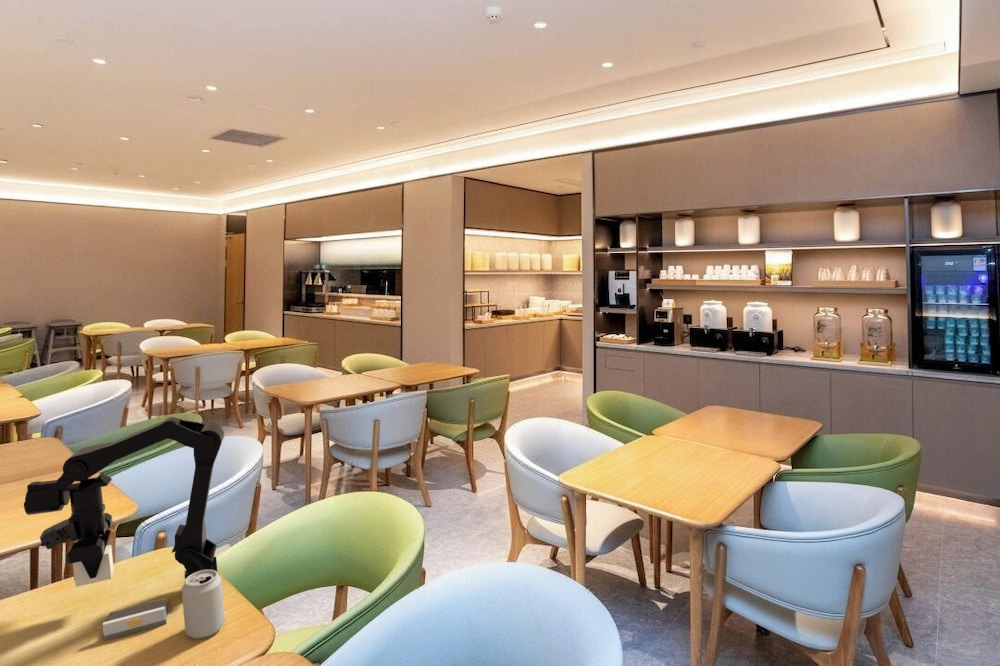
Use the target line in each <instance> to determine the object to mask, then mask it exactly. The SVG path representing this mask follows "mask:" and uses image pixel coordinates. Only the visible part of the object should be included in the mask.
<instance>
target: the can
mask: <svg viewBox="0 0 1000 666" xmlns="http://www.w3.org/2000/svg"><path fill="white" fill-rule="evenodd" d="M217 572H218V571H217ZM217 572H216V571H215V570H202V571H198V572H195V573H193V574H191V575H189V576H188V577H187V578H186V579H185V578H184V581H183V582H184V583H183V585H182V587H181V599H182V610H183V620H184V629H185V635H187V636H188V637H191V638H192V639H196V640H198V639H199V640H200V639H201V640H202V639H205V637H206V638H209V637H211V636H214V635H215V634H217V633H218V632H219V631H220V630H221V628H222V627H223V626H224V625H225V622H226V615H225V605H224V604H225V603H224V602H225V601H224V593H223V592H224V591H223V582H222V577H221V576H220V575H219V573H217Z"/></svg>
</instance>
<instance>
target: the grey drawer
mask: <svg viewBox="0 0 1000 666" xmlns="http://www.w3.org/2000/svg"><path fill="white" fill-rule="evenodd" d="M167 615H168V598H162V599H159V600H154V601H151V602H147V603H142V604H139V605H135V606H131V607H127V608H123V609H120V610H115V611H112V612H109V613H108V618H107V621H104V622H103V623H102V631H103V639H104V642H105V641H109V640H111V639H112V640H113V639H116V638H120V637H123V636H126V635H131V634H134V633H138V632H141V631H145V630H149V629H152V628H155V627H159V626H163V625H166V624H167Z"/></svg>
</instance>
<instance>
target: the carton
mask: <svg viewBox="0 0 1000 666" xmlns="http://www.w3.org/2000/svg"><path fill="white" fill-rule="evenodd" d="M114 569H115V566H114V559H113V550H112V544H107V545H106V548H105V552H104V555H103V558H102V561H101V564H100V567H99V570H98V573H97V576H96V577H95V578H92V579H90V577H89V575H88V573H87V572H86V570H85V568H84V566H83V564H82V562H76V563H72V572H73V581H74V583H75V588H78V587H82V586H87V585H90V584H95V583H99V582H103V581H108V580H112V578H113V573H114Z"/></svg>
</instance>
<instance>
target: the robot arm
mask: <svg viewBox="0 0 1000 666" xmlns="http://www.w3.org/2000/svg"><path fill="white" fill-rule="evenodd" d="M224 438H225V431H224V429H223V428H222V427H221V426H220V425H218V424H215V423H208V424H205V423H202V422H199V421H193V420H192V421H191V420H186V419H181V418H179V417H175V416H170V417H167V418H165V419H164V420H162V421H159V422H158V423H156V424H153V425H151V426H148V427H145V428H143V429H141V430H138V431H136V432H132V433H131V434H129V435H126V436H123V437H121V438H119V439H116V440H114V441H111V442H107V443H99V444H95V445H91V446H87V447H83V448H80V449H79V450H76V451H75V452H74V453H73V454H72V455H71V456H69V458H67V459H66V460H65V462H64V463H63V465H62V473H61V476H60V477H58V479H54V480H47V481H46V480H45V481H38V480H37V481H31V482H30V483H28V485H26V487H27V490H26V491H27V492H26V493H25V498H24V503H23V508H24V512H25V514H26V515H28V516H32V515H41V514H47V513H54V512H60V511H63V510H64V507H65V506H68V505H69V503H70V508H71V513H70V514H71V515H70V517H68V518H66V519H64V520H61V521H60V522H58V523H56V524H53V525H52V526H49V527H48V528H46V529H44V530H43V531H42V533H41V535H40V536H39V540H40V542H41V543H40V545H41V547H45V548H46V550H51V549H54V548H55V546H57V545H60V544H62V543H64V542H65V541H67V540H70V542H73V543H72V544H71V545H70V546H69V547H68V549H67V551H66V553H65V558H66V559H65V561H66V564H67V565H69V564H73V563H76V562H82V564H83V566H84V568H85V570H86V572H87V573H88V575H89V577H90V579H92V578H95V577H96V576H97V573H98V570H99V567H100V564H101V561H102V558H103V555H104V552H105V548H106V546H107V545H108V541H109V538H110V534H111V530H110V529H111V528H112V527H113V516H112V515H111V514H110V513H108V512H105V510H106V504H105V503H104V501H103V490H102V487H107V486H108V485H109V484H110V483H111V482H112V481H113V478H112V477H110V476H108V475H105V474H104V472H101V471H103V470H104V468H106V467H108V466H109V465H111V464H113V463H114V462H116V461H118V460H120V459H123V458H125V457H127V456H130V455H132V454H134V453H136V452H139V451H141V450H143V449H146V448H148V447H151V446H153V445H155V444H158V443H160V442H163V441H164V440H167V439H168V440H172V441H175V442H177V443H179V444H180V445H182V446H185V447H188V448H192V449H193V460H194V465H195V466H194V474H193V478H192V479H193V480H192V485H191V491H190V498H189V503H188V507H187V508H188V509H187V513H186V514H187V515H186V520H185V524H181V523H180V524H178V527H177V529H176V532H175V534H174V545H173V547H172V550H171V553H174V559H175V561H177V563H179V564H180V565H182V566H183V567H184V569H185V571H184V580H185V579H186V578H187V577H188V576H189V575H191V574H193V573H195V572H198V571H202V570H215V571H216V572H217V573H218V562H217V556H215V554H216V550H217V547H218V545H217V544H216V543H215V542H213V541H211V540H210V539H208V538H207V527H206V521H205V520H206V518H205V517H206V513H207V506H208V501H209V494H210V488H211V483H212V476H213V471H214V466H215V462H216V459H217V457H218V454H219V451H220V448H221V447H222V444H223V440H224ZM99 472H100V473H99ZM97 473H99V475H98V476H97V477H95V476H94V475H96V474H97ZM92 476H94V477H92ZM107 527H108V528H110V529H108V530H107ZM75 541H77V542H75ZM218 574H219V573H218Z"/></svg>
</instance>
